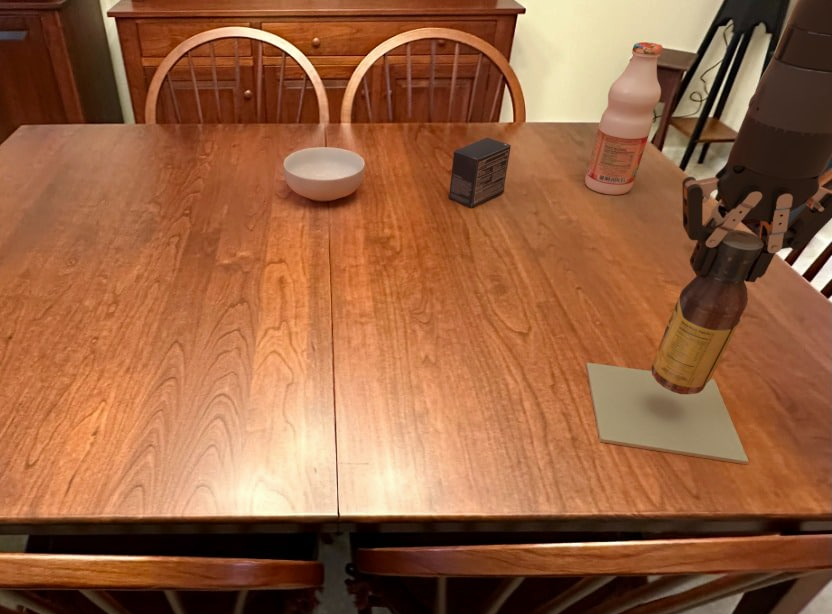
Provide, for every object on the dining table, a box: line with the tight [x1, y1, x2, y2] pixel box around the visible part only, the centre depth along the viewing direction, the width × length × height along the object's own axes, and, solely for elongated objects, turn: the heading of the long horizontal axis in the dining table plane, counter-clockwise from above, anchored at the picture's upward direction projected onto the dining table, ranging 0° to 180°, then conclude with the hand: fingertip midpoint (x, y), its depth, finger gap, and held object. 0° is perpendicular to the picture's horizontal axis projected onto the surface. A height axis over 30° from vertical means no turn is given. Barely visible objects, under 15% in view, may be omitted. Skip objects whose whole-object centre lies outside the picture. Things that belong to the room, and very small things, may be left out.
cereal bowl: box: [282, 146, 366, 203], centre depth 125 cm, size 17×17×7 cm
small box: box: [448, 137, 512, 209], centre depth 122 cm, size 11×6×10 cm, turn 130°
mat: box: [585, 362, 750, 465], centre depth 76 cm, size 16×14×1 cm
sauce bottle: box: [650, 229, 764, 394], centre depth 67 cm, size 6×6×20 cm
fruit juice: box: [584, 41, 663, 196], centre depth 119 cm, size 9×9×28 cm
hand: (723, 274), depth 64 cm, fingers closed on sauce bottle, 4 cm apart
